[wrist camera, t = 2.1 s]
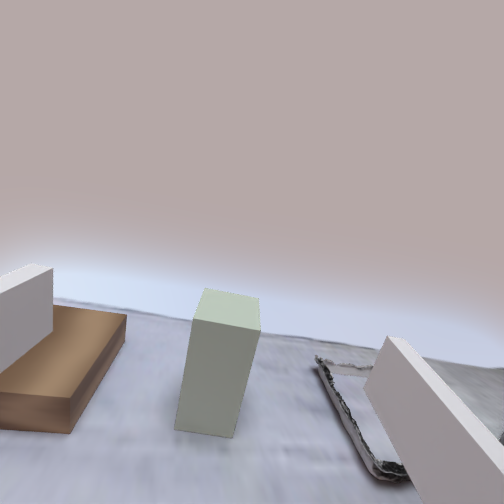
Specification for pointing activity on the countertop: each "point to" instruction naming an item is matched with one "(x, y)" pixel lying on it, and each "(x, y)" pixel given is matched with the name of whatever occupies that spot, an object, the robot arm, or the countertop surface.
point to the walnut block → (60, 371)
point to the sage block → (218, 363)
